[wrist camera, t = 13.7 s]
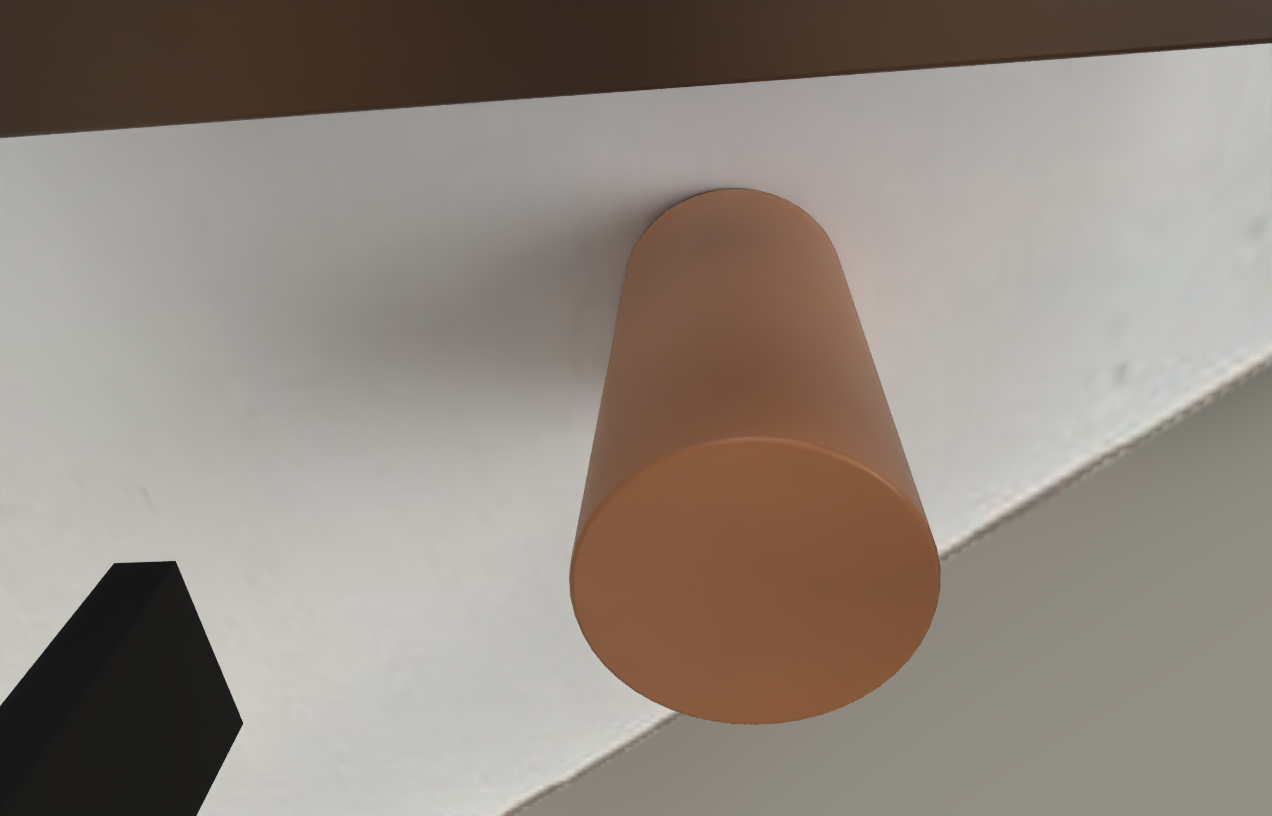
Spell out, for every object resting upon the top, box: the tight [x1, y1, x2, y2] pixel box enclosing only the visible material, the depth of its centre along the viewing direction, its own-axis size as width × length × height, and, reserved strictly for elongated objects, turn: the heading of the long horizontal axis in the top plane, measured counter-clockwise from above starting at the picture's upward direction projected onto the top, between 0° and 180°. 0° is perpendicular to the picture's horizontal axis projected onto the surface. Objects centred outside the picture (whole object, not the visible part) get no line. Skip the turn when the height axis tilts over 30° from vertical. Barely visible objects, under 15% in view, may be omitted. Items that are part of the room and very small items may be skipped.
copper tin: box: [569, 189, 940, 725], centre depth 17 cm, size 5×5×10 cm
